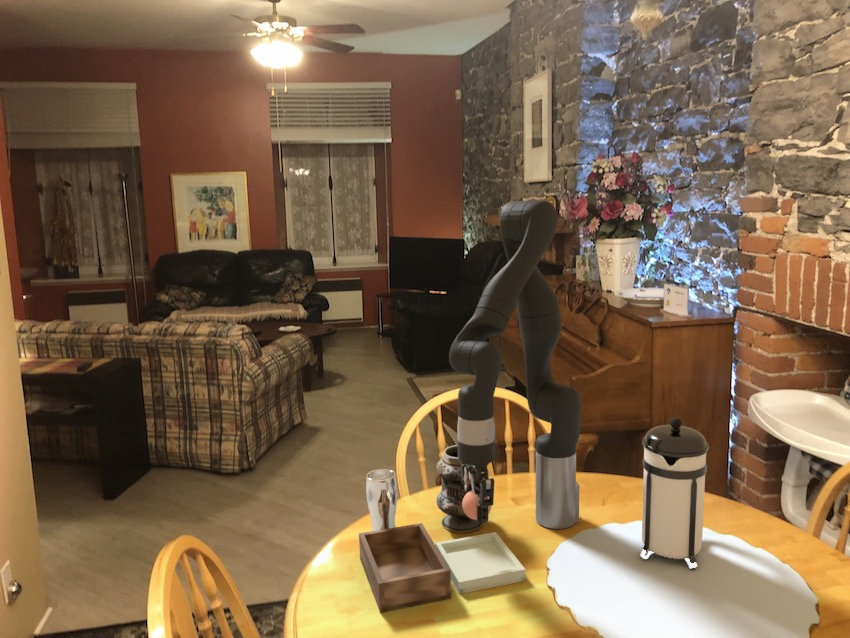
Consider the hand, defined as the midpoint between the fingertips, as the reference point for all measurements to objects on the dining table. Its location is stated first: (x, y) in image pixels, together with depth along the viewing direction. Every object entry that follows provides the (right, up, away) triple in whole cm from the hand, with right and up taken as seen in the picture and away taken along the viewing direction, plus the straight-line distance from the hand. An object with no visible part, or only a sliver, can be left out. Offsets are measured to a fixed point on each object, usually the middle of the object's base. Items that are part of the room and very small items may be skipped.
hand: (477, 514), depth 142 cm
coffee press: (+42, -10, +6) cm, 43 cm away
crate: (-15, -13, -1) cm, 20 cm away
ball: (0, +2, 0) cm, 2 cm away
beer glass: (-20, -10, +16) cm, 27 cm away
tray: (+1, -12, +2) cm, 12 cm away
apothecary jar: (-2, -8, +21) cm, 23 cm away
